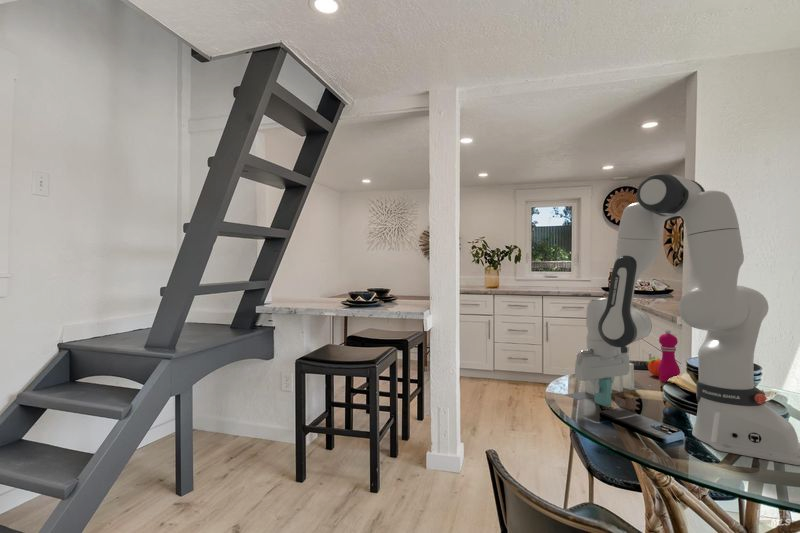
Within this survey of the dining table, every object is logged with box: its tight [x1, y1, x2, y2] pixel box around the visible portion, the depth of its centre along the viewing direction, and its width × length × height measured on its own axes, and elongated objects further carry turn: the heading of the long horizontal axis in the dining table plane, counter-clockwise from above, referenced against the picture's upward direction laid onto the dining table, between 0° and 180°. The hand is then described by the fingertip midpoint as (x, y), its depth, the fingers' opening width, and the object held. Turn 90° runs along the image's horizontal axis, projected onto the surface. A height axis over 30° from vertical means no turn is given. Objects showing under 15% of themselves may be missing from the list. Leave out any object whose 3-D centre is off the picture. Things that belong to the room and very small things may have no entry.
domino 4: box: [623, 362, 635, 391], centre depth 150 cm, size 2×5×9 cm, turn 22°
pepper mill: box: [658, 329, 681, 383], centre depth 159 cm, size 7×7×20 cm
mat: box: [565, 387, 638, 401], centre depth 146 cm, size 29×6×1 cm, turn 113°
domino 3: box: [612, 376, 623, 393], centre depth 148 cm, size 2×5×9 cm, turn 23°
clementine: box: [646, 358, 661, 377], centre depth 168 cm, size 8×7×7 cm
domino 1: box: [584, 381, 594, 395], centre depth 144 cm, size 2×5×9 cm, turn 22°
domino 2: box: [594, 378, 612, 408], centre depth 132 cm, size 2×5×9 cm, turn 23°
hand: (602, 391), depth 132 cm, fingers open, 3 cm apart
